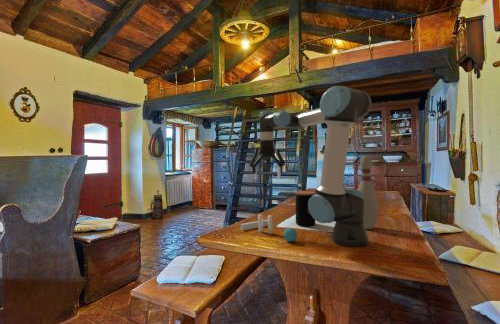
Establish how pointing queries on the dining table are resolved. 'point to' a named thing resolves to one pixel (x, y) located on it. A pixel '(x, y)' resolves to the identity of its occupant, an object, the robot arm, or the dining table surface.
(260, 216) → the back pin
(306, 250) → the dining table surface
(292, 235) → the ball
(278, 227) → the dining table surface
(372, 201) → the bowling pin
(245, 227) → the back wall
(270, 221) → the front pin
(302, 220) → the coffee jar
